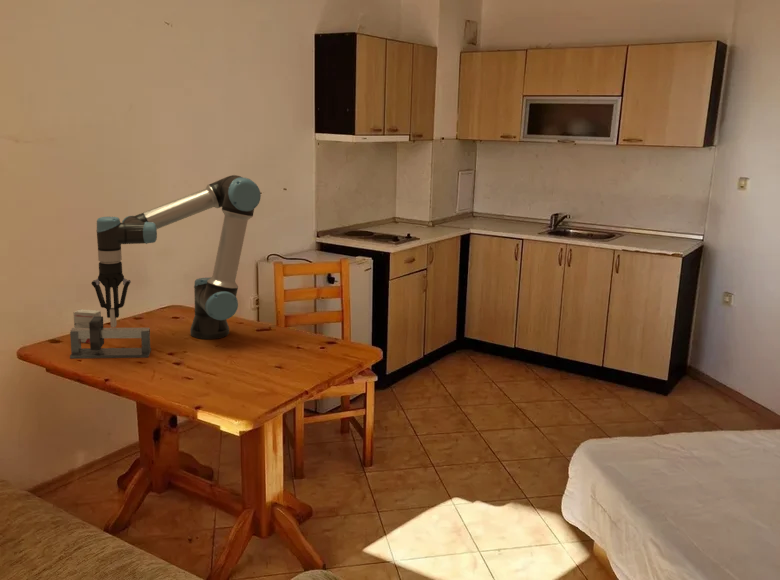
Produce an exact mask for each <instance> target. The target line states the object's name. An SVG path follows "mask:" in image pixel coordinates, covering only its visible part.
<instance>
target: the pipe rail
mask: <svg viewBox="0 0 780 580" xmlns="http://www.w3.org/2000/svg"><path fill="white" fill-rule="evenodd" d="M69 333H70V335H69V336H70V352H71V354H70V355H69V359H123V358H125V359H127V358H129V359H130V358H131V359H132V358H133V359H134V358H135V359H136V358H140V359H141V358H142V359H143V358H144V359H145V358H149V357H150V353H151V351H152V348H151V328H150V327H103V328H100V338H104V339H141V347H101V349H100V350H90V348H87V347H85V348H84V347H83V348H82V342H81V339H84V338H90V329H89V328H74V327H72V328H71V329H70V332H69Z"/></svg>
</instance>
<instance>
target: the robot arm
mask: <svg viewBox="0 0 780 580" xmlns="http://www.w3.org/2000/svg"><path fill="white" fill-rule="evenodd" d="M261 196H262V195H261V190H260V187H259V186H258V185H257V183H256V182H254V181H253V180H252V179H250V178H247V177H243V176H240V175H235V174H233V175H228V176H226V177H224V178H221V179H219V180H216V181H215V182H212V183H210V184H207V185H206V187H205V188H203V189H201V190H199V191H196V192H193V193H191V194H188V195H185V196H183V197H180V198H177V199H175V200H172V201H170V202H167V203H165V204H162V205H159V206H156V207H154V208H150V209H149V210H146V211H144V212H141V213H139V214H135V215H128V216H126V217H125V218H123V220H122V221H121V220H120V218H119V217H117V216H101V217H98V218H97V220H96V240H97V256H98V257H97V258H98V259H97V261H99V262H98V273H99V274H98V276H97V278H96V279H94V280H92V281H91V285H92V286H93V288H94V290H95V292H96V296H97V300H98V302H99V305H100V308H102V309H105V310H106V317H107V318H108V319H110V328H117V324H118V323H117V318H119V316H120V309H121V308H123V307H124V306H125V302H126V298H127V292H128V287H129V286H130V285H131V283H132V282H131V280H130V279H126V278H125V276H124V273H123V262H122V245H132V244H133V245H135V244H138V245H139V244H146V245H147V244H154V243H156V241H157V240H158V239H157V238H158V231H157V230H158V229H161V228H164V227H166V226H169V225H171V224H174V223H177V222H179V221H182V220H184V219H186V218H187V219H188V218H190V217H192V216H195V215H196V214H200V213H202V212H205V211H207V210H209V209H213V208H214V209H220V208H221V212H222V213H223V214H224V218H223V223H222V228H221V232H220V237H219V242H218V246H217V247H218V248H217V252H216V255H215V256H216V257H215V261H214V267H213V272H212V276H211V277H210V276H209V277H200V278H196V279H195V281H194V284H193V285H194V286H193V289H194V290H193V291H194V315H193V321H192V323H191V326H190V331H189V333H190V336H191V337H193V338H195V339H200V340H201V339H202V340H216V338H217V339H221V338H225V337H228V334H229V335H230V327H229V323H228V322H227V320H228V319H231V318H232V317H233V316H234V315H235V314H236V312H237V310H238V307H239V302H238V298H237V295H238V294H237V293H238V289H239V286H238V284H237V282H236V278H237V274H238V269H239V264H240V260H241V259H240V258H241V256H242V249H243V244H244V240H245V236H246V229H247V227H248V221H249V220H250V219H251V218H253V217H254V211H255V209H256V208H257V207H258V205H259V204H260V201H261ZM121 283H122V285H123V287H122V293H121V295H120V296H121V297H120V301H119V286H120V285H121ZM100 284H102V286H103V287H104V291H105V298H104V295H103V291H102V288H101V286H100ZM111 288H112V292H113V293H112V294H113V295H111ZM112 296H113V297H112ZM112 298H113V305H112ZM112 306H113V307H112ZM224 336H225V337H224Z"/></svg>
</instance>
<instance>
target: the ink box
mask: <svg viewBox="0 0 780 580" xmlns="http://www.w3.org/2000/svg"><path fill="white" fill-rule="evenodd" d="M93 317H102V310H94V309H93V310H92V309H82V308H81V309H77V310H75V311H73V324H74V325H73V326H74V327H73V328H89V322H90V321H91V320H92V319H93ZM81 343H85V344H86V343H88V344H90V338H84V339H81Z"/></svg>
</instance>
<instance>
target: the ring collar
mask: <svg viewBox="0 0 780 580" xmlns="http://www.w3.org/2000/svg"><path fill="white" fill-rule="evenodd" d="M100 328H104V316H101V317H93V319H92V320H91V321H90V322H89V329H90V343H89V345H90V350H100V349H101V348H103V346H104V344H105V338H100Z"/></svg>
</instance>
